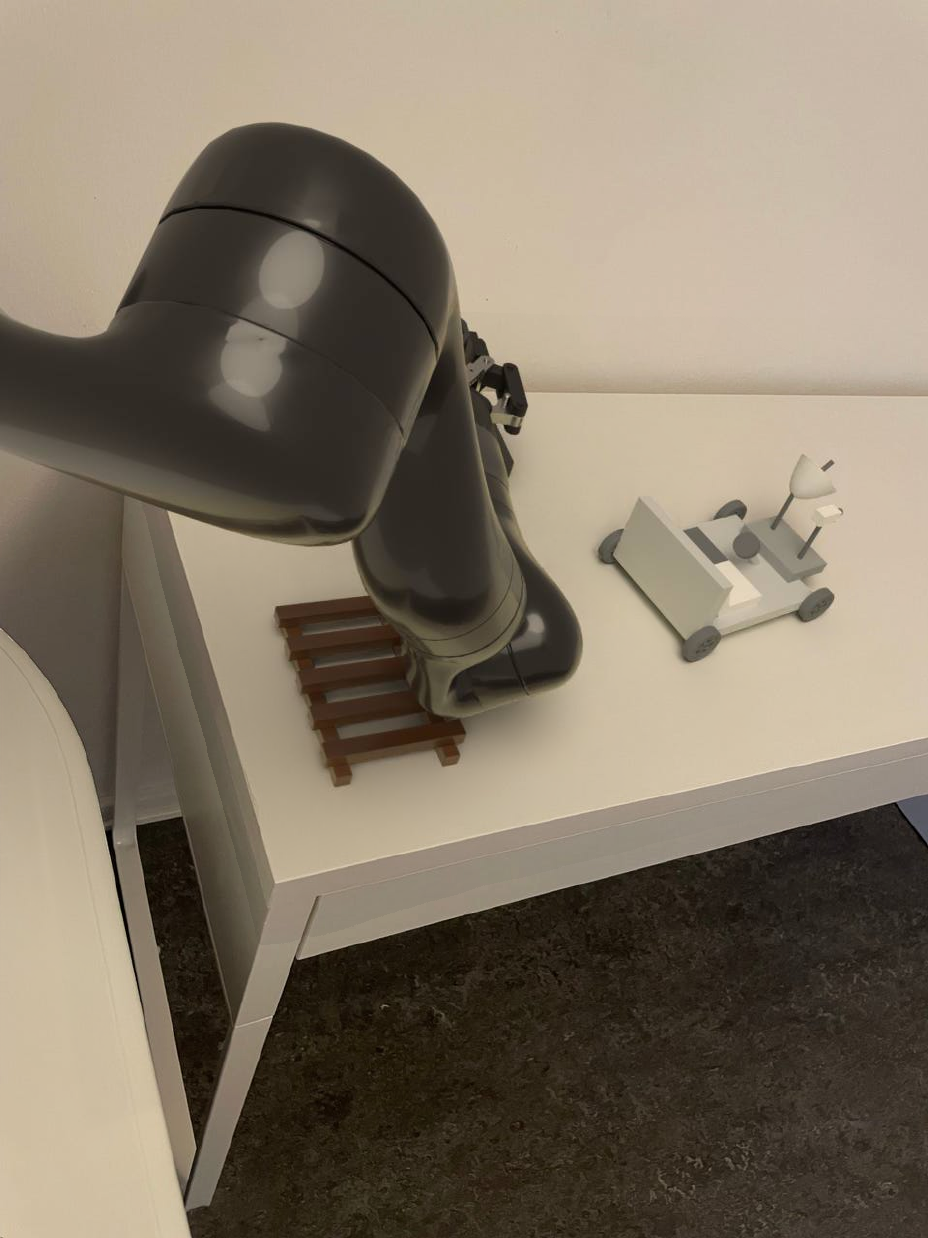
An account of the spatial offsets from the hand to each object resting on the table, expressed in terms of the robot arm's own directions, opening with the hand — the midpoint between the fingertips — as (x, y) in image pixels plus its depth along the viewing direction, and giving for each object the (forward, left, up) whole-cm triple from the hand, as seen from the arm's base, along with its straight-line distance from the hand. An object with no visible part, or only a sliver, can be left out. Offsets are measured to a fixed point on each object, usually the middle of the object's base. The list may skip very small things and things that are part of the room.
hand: (417, 335), depth 82 cm
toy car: (+29, +7, -9) cm, 31 cm away
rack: (+18, -23, -8) cm, 31 cm away
